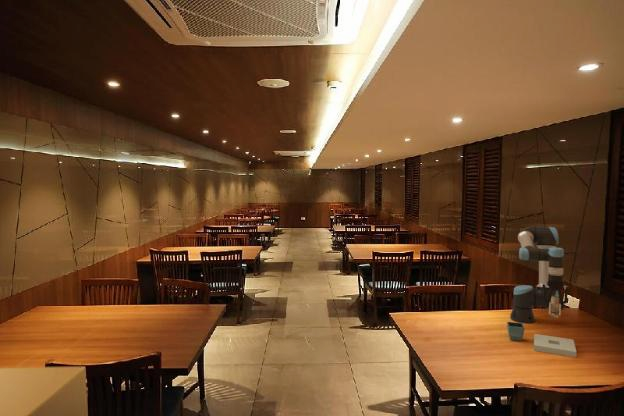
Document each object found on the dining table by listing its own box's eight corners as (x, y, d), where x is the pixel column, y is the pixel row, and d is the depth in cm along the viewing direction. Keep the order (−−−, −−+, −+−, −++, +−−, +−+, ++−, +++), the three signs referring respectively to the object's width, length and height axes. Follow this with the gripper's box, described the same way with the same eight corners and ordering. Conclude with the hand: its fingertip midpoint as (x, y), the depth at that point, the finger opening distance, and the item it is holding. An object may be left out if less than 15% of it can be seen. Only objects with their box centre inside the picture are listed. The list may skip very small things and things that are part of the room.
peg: (550, 317, 239) (550, 296, 238) (550, 315, 243) (550, 295, 242) (559, 318, 237) (559, 297, 236) (558, 316, 241) (559, 296, 240)
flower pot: (522, 337, 251) (522, 322, 250) (524, 342, 242) (524, 327, 242) (506, 335, 254) (506, 321, 253) (508, 340, 245) (508, 326, 245)
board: (534, 350, 231) (534, 345, 231) (534, 338, 249) (534, 333, 248) (576, 357, 222) (576, 352, 221) (573, 344, 239) (573, 339, 239)
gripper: (538, 274, 240) (537, 313, 241) (573, 277, 232) (572, 318, 232) (538, 271, 246) (537, 310, 247) (572, 274, 238) (571, 314, 239)
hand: (554, 314), depth 240 cm, fingers closed on peg, 4 cm apart
